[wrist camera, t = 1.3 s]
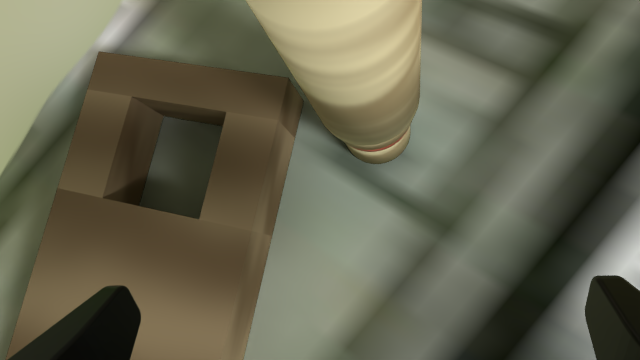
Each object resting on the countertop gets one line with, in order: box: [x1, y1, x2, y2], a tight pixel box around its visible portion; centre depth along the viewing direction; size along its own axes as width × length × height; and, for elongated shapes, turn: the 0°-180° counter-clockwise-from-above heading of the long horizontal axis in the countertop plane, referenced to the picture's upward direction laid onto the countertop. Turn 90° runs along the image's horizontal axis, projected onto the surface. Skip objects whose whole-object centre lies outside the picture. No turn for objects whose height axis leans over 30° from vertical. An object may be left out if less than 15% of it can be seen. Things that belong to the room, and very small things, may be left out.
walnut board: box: [6, 52, 304, 360], centre depth 22 cm, size 24×10×3 cm, turn 167°
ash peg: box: [246, 0, 422, 164], centre depth 16 cm, size 4×4×14 cm
